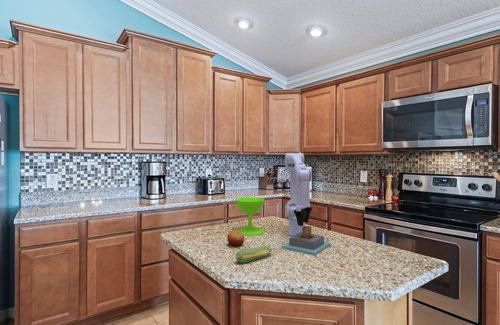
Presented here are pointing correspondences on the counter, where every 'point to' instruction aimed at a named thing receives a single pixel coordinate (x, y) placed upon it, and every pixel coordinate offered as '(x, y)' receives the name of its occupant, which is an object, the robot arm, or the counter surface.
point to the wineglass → (250, 214)
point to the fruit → (235, 238)
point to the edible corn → (252, 254)
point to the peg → (306, 232)
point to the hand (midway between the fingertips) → (303, 224)
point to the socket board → (313, 252)
